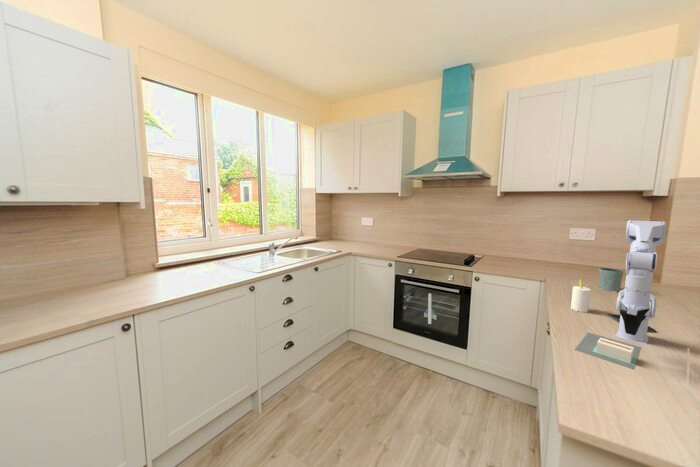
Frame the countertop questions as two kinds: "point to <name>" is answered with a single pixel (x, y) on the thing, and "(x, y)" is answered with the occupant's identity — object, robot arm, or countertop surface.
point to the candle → (580, 298)
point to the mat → (589, 347)
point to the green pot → (610, 278)
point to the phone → (617, 318)
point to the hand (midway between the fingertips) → (632, 330)
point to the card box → (615, 350)
